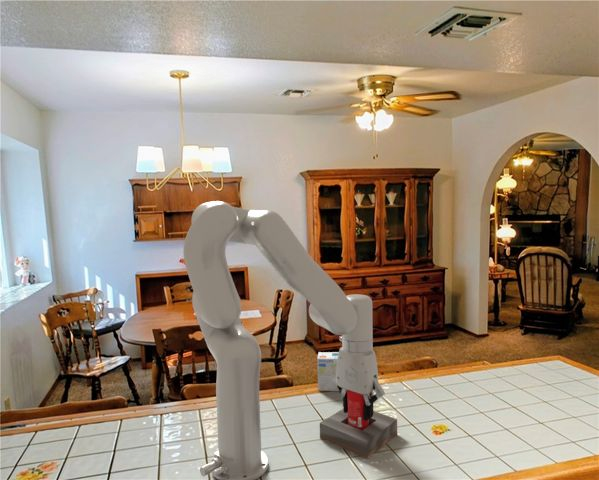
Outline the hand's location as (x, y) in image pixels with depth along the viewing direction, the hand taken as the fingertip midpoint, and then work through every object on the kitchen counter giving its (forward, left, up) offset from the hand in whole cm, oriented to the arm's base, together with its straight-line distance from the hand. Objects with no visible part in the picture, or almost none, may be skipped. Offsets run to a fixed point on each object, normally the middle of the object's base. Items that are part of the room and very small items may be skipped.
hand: (358, 414), depth 108 cm
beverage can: (0, 0, -5) cm, 5 cm away
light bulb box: (+20, +23, -6) cm, 31 cm away
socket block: (0, 0, -6) cm, 6 cm away
